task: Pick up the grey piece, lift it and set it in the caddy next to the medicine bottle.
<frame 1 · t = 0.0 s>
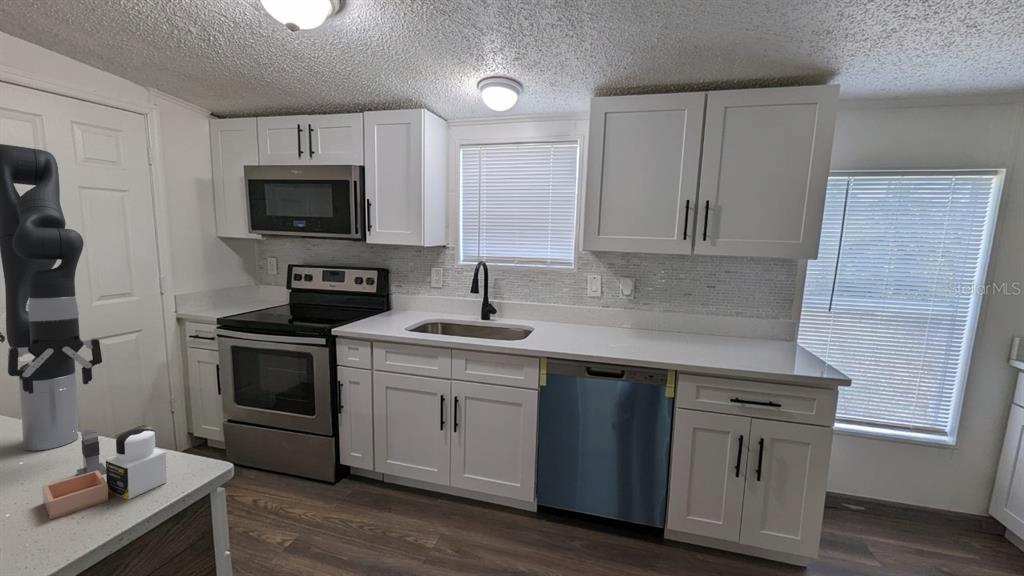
hand: (59, 388, 95), 17 cm above the counter, tool pointing down, fingers open, 8 cm apart
caddy: (76, 501, 82), on the counter
medicine bottle: (137, 487, 88), on the counter
grey piece: (91, 473, 92), on the counter
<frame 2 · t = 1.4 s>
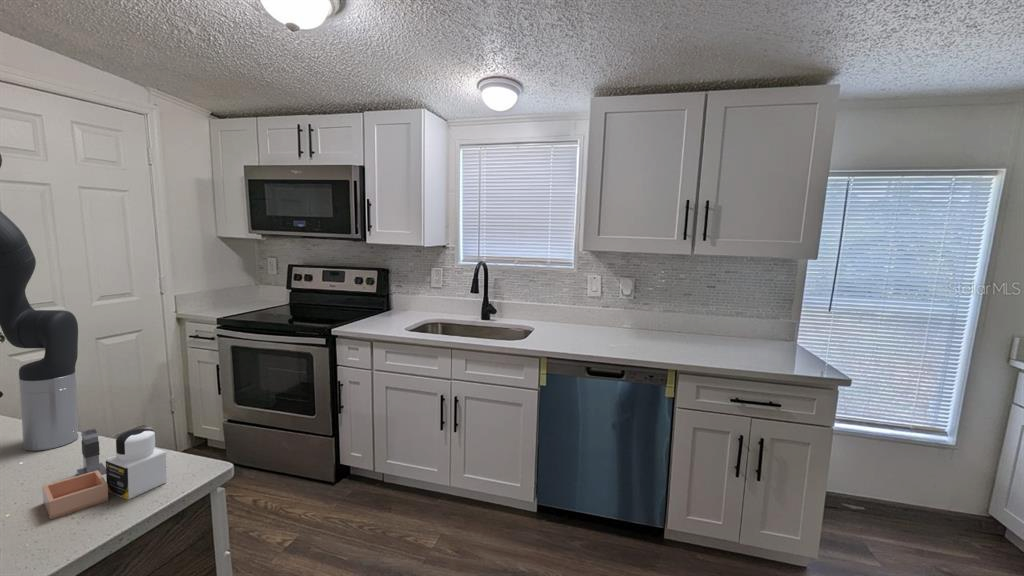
nothing on the counter moved.
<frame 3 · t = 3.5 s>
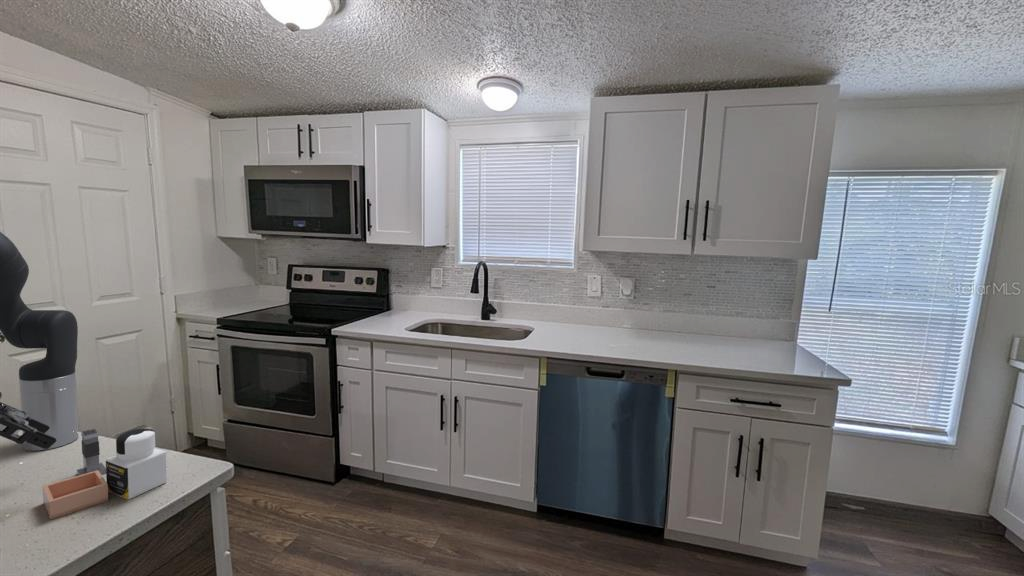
hand: (48, 437, 86), 10 cm above the counter, tool tilted 45°, fingers open, 8 cm apart
nothing on the counter moved.
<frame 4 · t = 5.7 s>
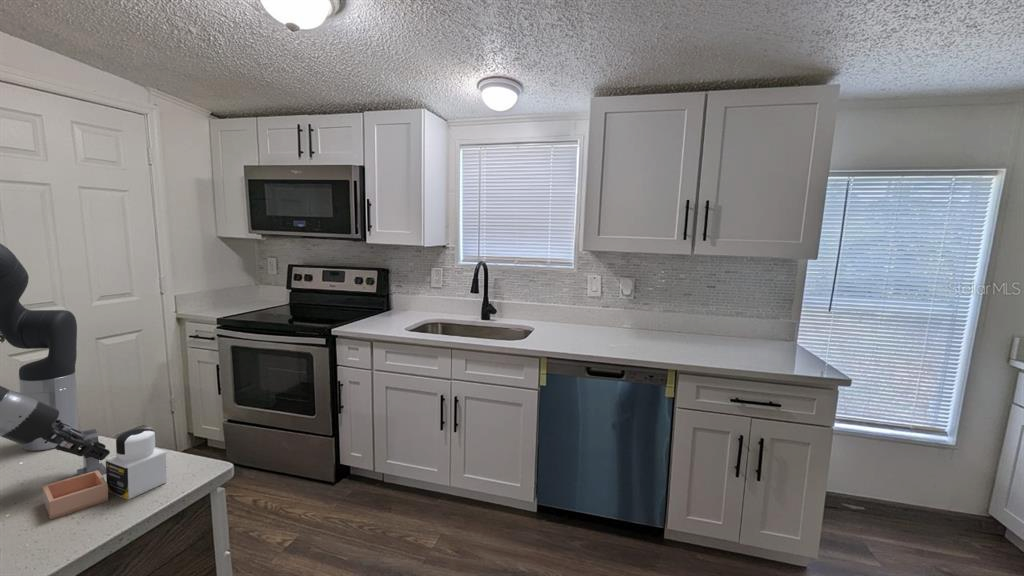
hand: (103, 452, 93), 4 cm above the counter, tool tilted 45°, fingers closed on grey piece, 3 cm apart
grey piece: (91, 473, 92), on the counter, touching gripper
everything else where it was.
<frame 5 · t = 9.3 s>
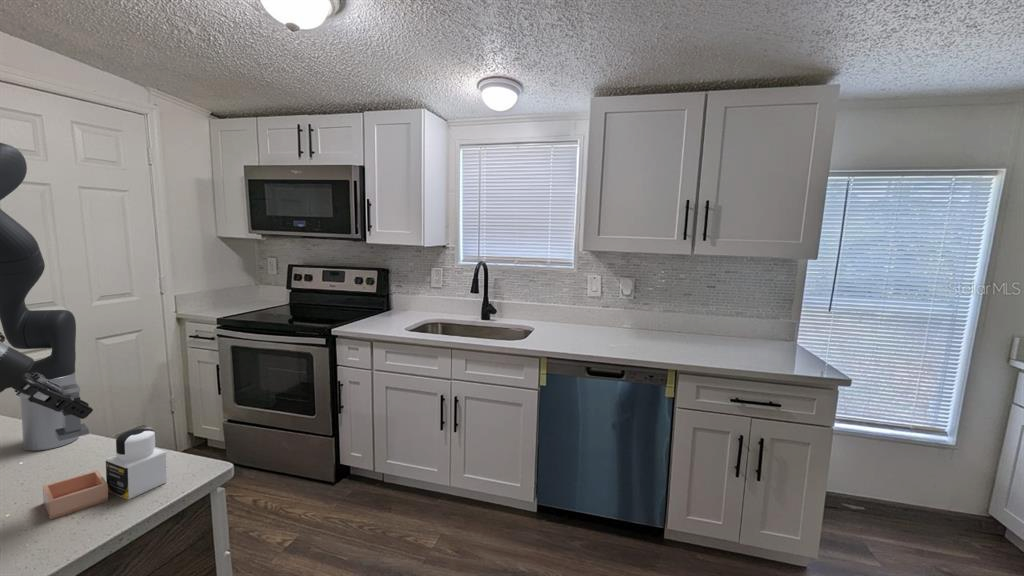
hand: (85, 411, 82), 18 cm above the counter, tool tilted 45°, fingers closed on grey piece, 3 cm apart
grey piece: (72, 434, 81), point 14 cm above the counter, touching gripper
everything else where it was.
when the fingers open (6 cm above the counter, at t = 12.4 s): grey piece drops 1 cm, resting on caddy.
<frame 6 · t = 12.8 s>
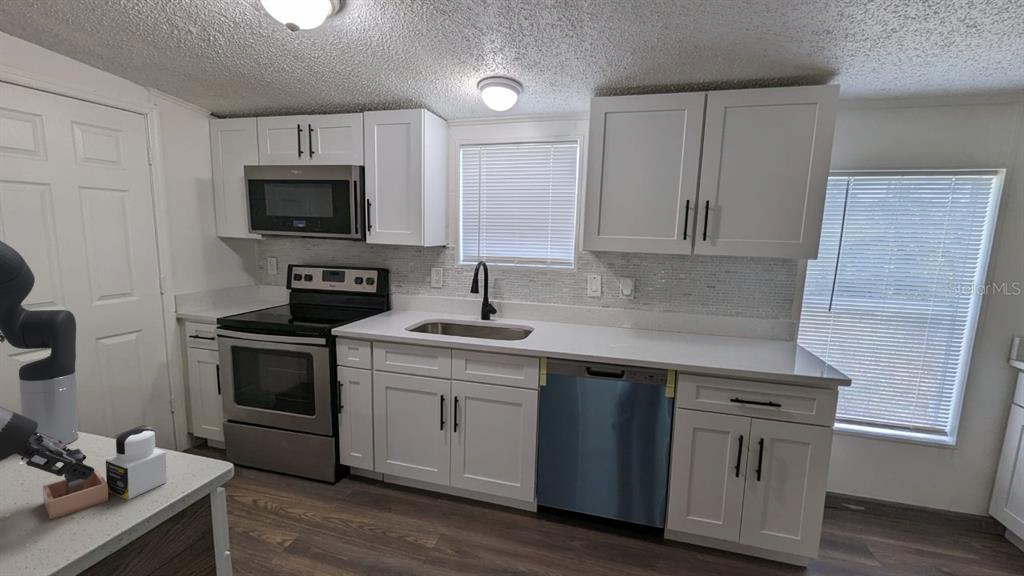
hand: (85, 467, 83), 6 cm above the counter, tool tilted 45°, fingers open, 7 cm apart
grey piece: (75, 499, 82), point 1 cm above the counter, touching caddy
everything else where it was.
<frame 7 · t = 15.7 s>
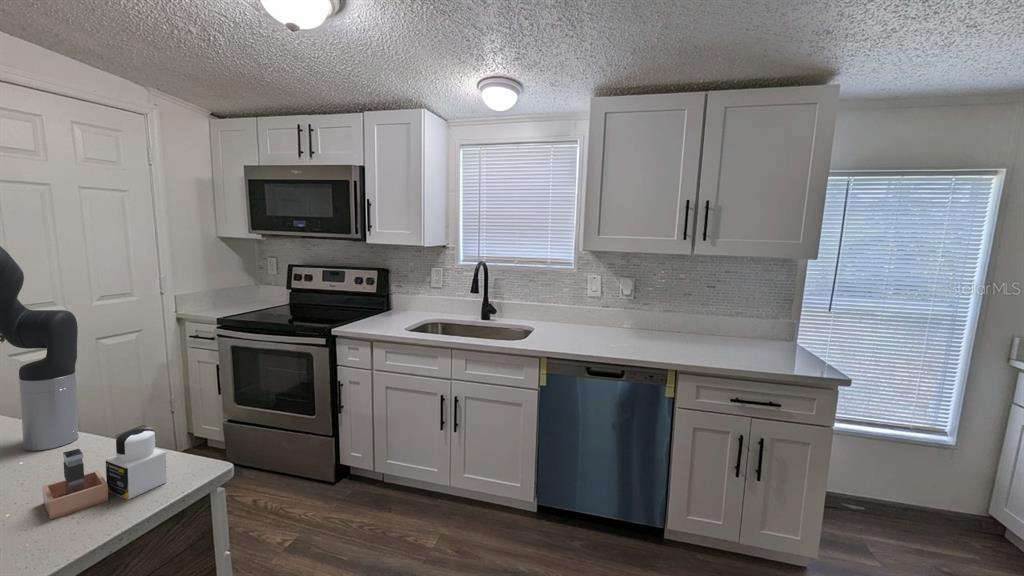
nothing on the counter moved.
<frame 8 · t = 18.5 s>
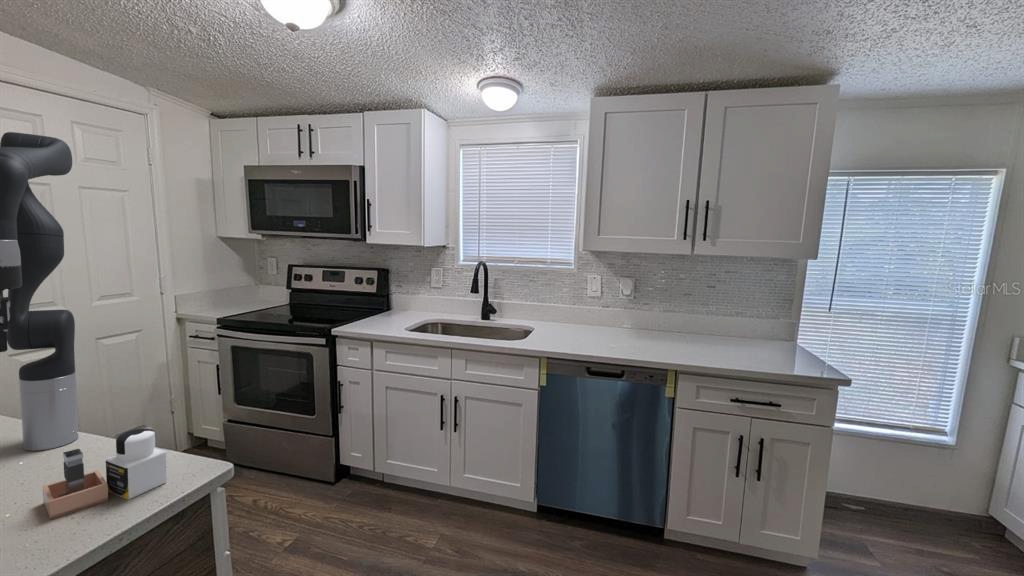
nothing on the counter moved.
at the end: grey piece 0.1 cm off-centre on the caddy, point 0.6 cm above the caddy's base; grey piece tilted 0°; the gripper is holding nothing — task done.
